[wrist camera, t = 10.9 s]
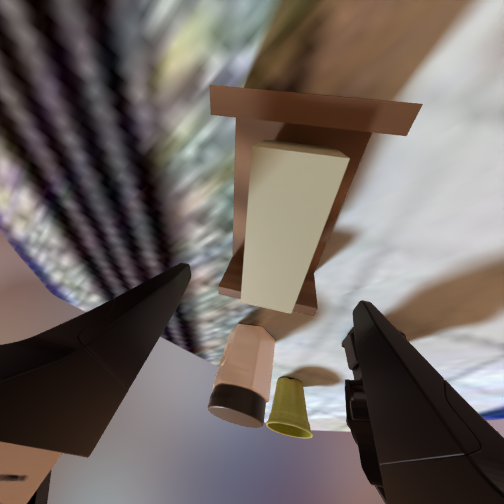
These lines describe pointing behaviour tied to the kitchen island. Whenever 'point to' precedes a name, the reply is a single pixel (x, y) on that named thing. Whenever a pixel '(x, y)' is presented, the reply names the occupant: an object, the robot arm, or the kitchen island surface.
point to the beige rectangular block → (286, 218)
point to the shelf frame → (303, 132)
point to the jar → (244, 377)
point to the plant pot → (289, 410)
